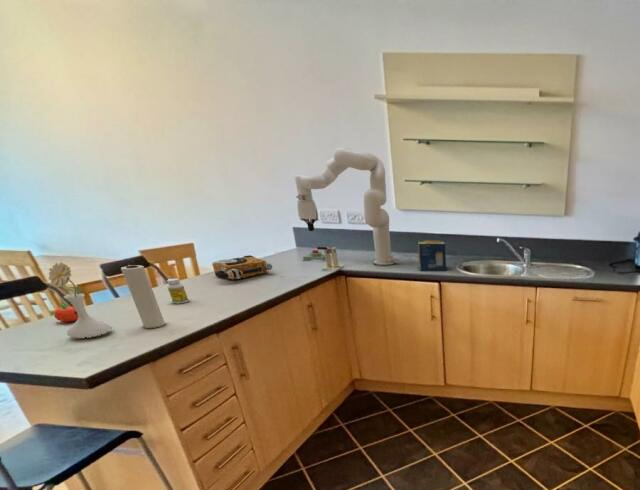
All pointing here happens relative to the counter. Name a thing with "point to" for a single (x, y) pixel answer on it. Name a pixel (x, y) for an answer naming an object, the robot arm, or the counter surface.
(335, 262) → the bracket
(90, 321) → the flower in vase
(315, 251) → the button
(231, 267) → the device
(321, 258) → the button box
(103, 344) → the counter surface
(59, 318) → the tomato
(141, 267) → the paper towel roll
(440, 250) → the protein box
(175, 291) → the supplement bottle
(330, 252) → the lever
